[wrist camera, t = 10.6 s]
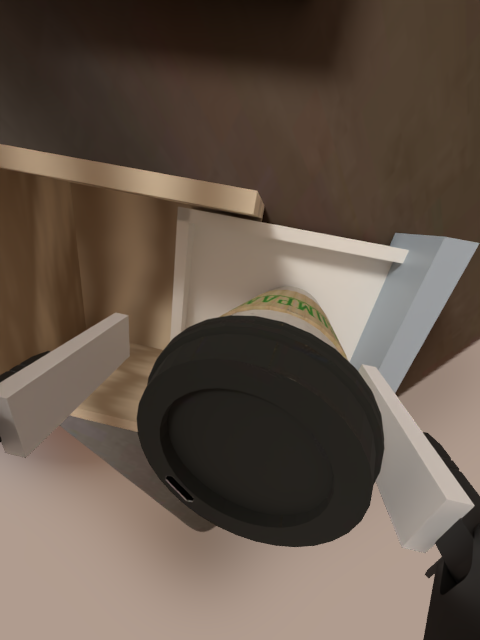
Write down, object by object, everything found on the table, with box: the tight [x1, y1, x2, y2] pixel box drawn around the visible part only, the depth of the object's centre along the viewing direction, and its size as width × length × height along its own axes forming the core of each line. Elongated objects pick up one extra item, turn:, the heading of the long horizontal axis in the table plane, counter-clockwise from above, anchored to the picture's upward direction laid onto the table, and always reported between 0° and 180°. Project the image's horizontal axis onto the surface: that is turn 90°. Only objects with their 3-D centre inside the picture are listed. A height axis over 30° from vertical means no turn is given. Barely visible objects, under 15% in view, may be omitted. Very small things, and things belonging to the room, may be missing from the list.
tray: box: [170, 207, 479, 393], centre depth 21 cm, size 20×17×6 cm
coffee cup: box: [137, 286, 384, 547], centre depth 15 cm, size 10×10×15 cm
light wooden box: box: [0, 144, 265, 432], centre depth 20 cm, size 19×18×11 cm
